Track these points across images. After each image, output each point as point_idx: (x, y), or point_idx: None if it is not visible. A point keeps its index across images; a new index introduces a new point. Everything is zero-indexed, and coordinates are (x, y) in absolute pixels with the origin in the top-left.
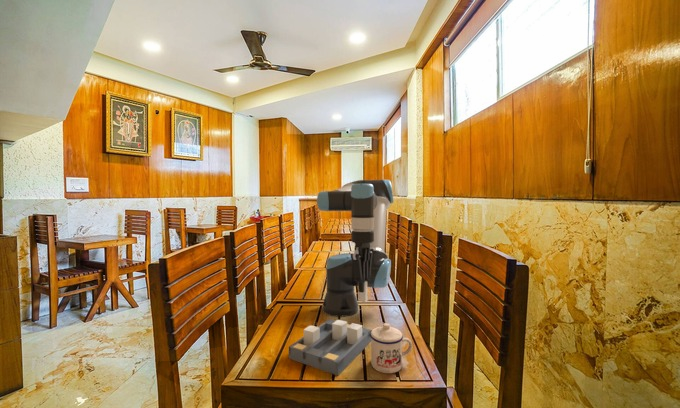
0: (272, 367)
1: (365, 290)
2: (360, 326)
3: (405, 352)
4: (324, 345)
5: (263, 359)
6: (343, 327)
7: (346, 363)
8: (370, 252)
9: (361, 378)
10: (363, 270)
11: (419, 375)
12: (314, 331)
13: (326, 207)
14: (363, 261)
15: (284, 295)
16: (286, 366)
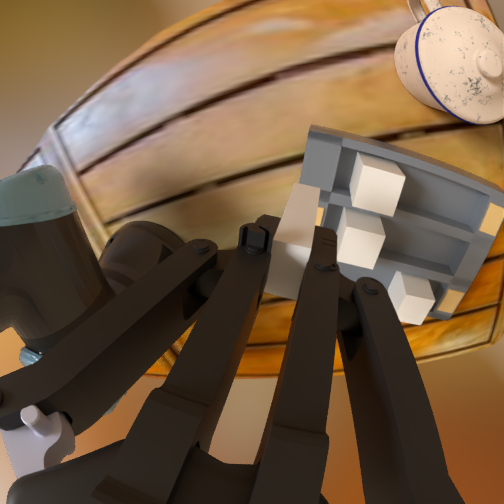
0: (469, 313)
1: (315, 217)
2: (374, 170)
3: (410, 8)
4: (406, 251)
5: (443, 336)
6: (374, 228)
7: (472, 175)
8: (41, 420)
9: (499, 130)
10: (333, 344)
11: None
12: (429, 299)
13: None
14: (323, 444)
15: (164, 378)
16: (468, 294)
